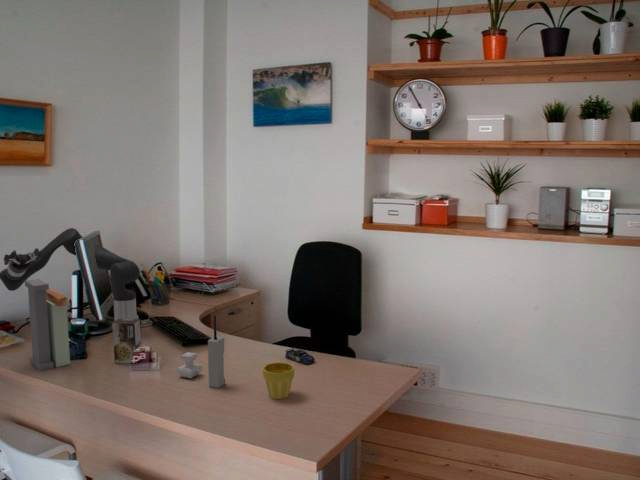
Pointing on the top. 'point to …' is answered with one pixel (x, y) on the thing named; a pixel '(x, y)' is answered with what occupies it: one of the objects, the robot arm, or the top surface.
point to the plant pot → (278, 379)
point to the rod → (56, 297)
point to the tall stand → (39, 324)
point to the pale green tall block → (58, 334)
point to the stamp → (189, 366)
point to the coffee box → (126, 339)
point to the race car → (299, 356)
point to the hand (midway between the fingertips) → (26, 251)
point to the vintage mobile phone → (216, 360)
